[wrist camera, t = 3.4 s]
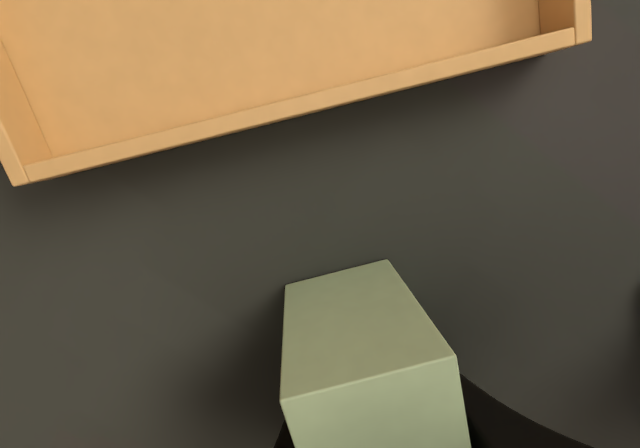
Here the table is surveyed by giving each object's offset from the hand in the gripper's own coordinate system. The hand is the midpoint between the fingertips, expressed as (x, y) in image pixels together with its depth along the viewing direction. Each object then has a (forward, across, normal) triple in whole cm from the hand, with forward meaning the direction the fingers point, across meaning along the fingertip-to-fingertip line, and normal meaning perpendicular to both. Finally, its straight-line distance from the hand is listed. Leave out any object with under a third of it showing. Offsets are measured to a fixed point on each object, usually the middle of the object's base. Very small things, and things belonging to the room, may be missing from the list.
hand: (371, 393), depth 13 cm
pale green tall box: (+1, 0, 0) cm, 1 cm away
